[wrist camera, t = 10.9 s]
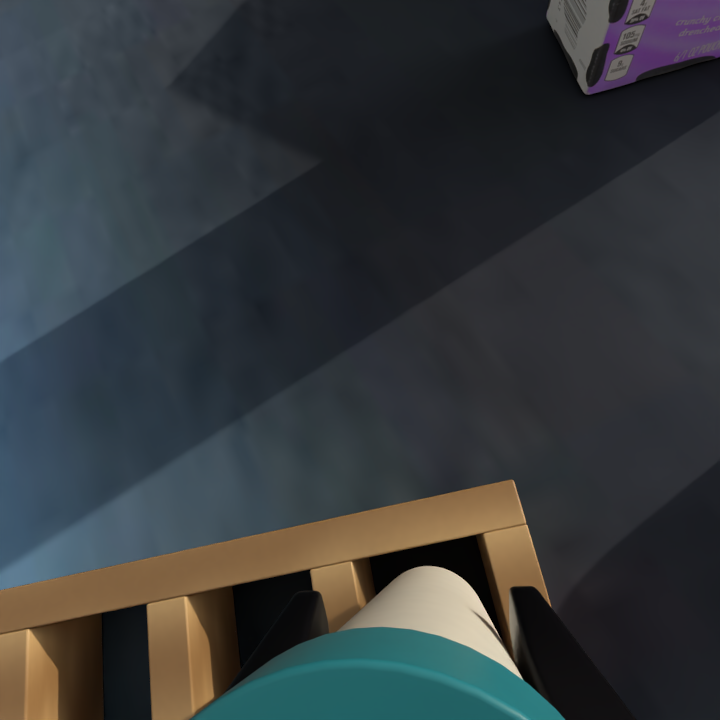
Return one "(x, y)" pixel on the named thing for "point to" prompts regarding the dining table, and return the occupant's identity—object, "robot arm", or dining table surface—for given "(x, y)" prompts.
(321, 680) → the test tube
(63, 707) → the tube rack
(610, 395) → the dining table surface
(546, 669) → the robot arm
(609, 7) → the candy box
